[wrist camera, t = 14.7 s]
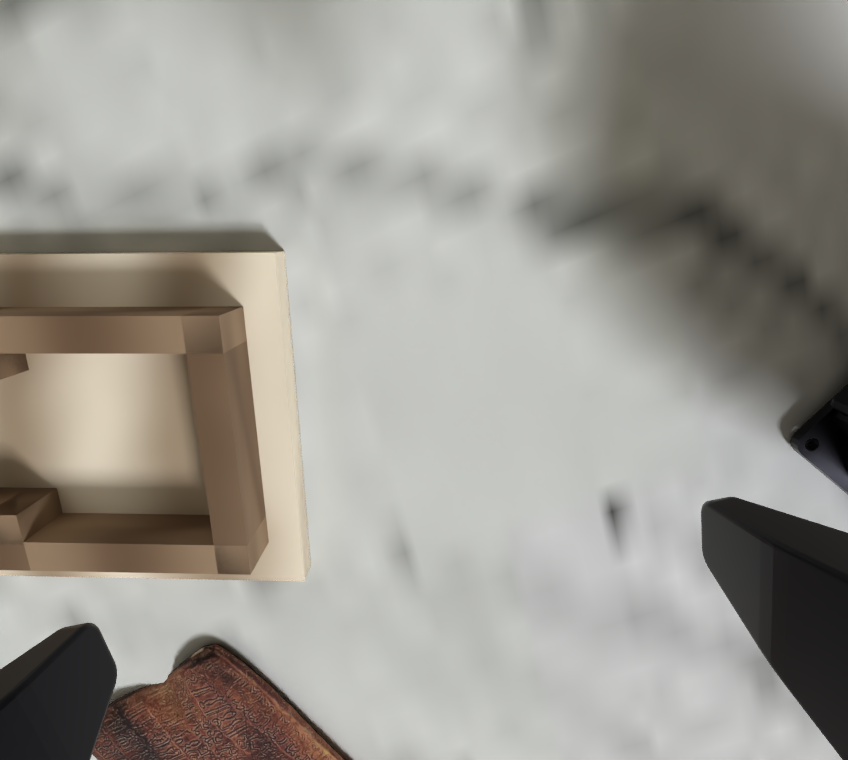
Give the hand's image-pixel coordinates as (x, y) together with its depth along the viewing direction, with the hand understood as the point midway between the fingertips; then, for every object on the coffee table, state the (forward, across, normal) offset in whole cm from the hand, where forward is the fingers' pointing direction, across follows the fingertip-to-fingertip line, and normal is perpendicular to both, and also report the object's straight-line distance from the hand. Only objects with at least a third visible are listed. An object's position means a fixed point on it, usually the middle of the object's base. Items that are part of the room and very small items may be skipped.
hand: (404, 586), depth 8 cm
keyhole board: (+14, +14, 0) cm, 20 cm away
